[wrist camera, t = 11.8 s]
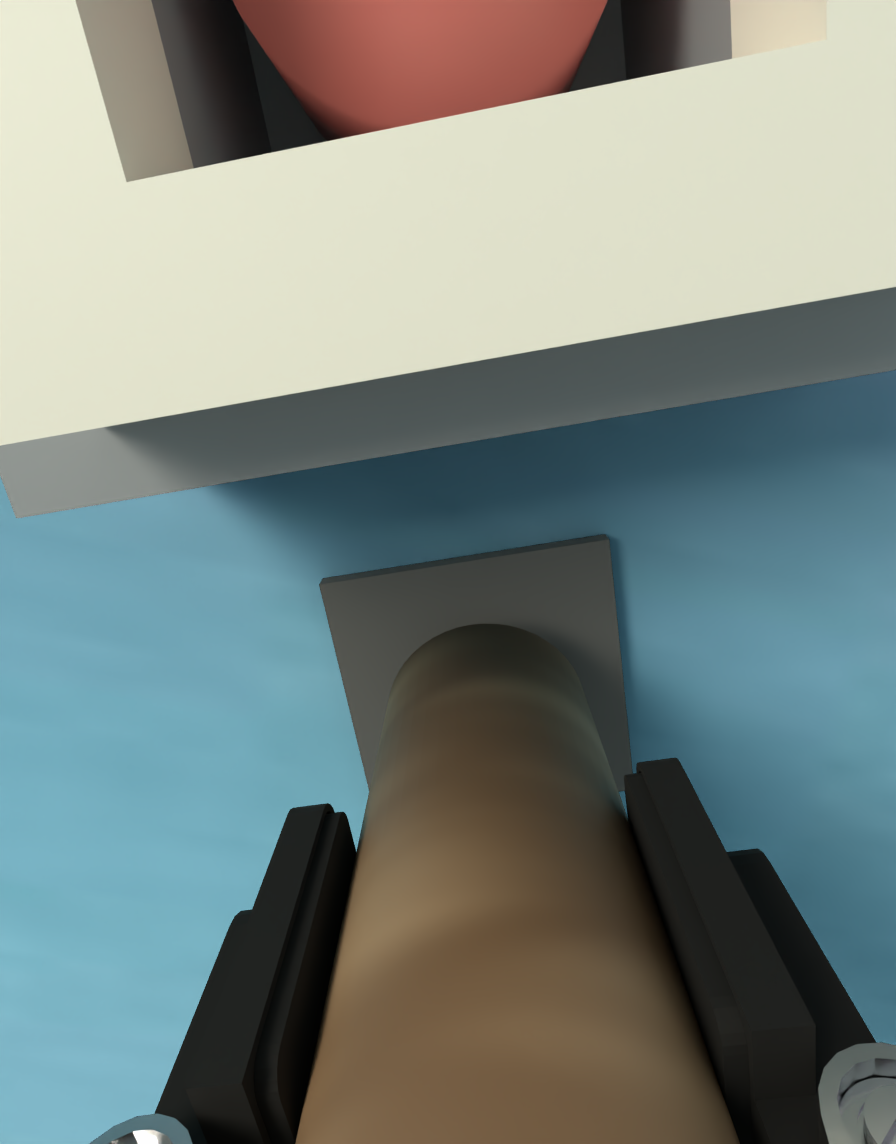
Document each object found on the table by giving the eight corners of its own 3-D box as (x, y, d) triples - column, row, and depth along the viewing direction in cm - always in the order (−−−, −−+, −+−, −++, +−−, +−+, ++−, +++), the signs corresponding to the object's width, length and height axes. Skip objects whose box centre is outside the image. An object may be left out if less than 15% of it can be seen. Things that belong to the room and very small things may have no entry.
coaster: (630, 779, 16) (634, 789, 16) (379, 811, 16) (376, 822, 16) (605, 534, 14) (609, 539, 14) (322, 578, 15) (319, 584, 14)
